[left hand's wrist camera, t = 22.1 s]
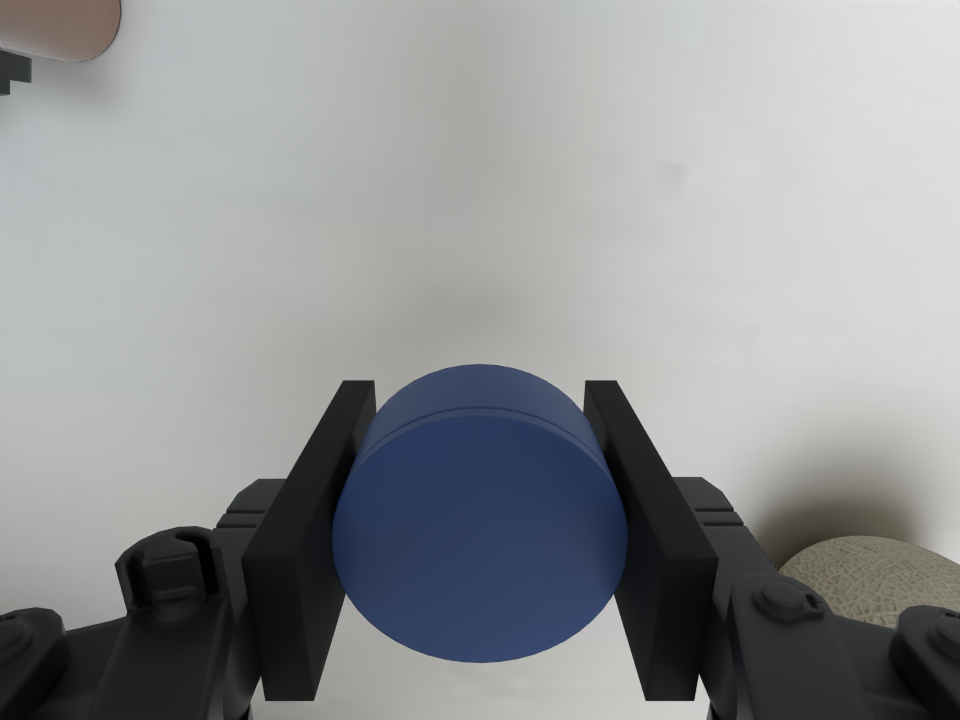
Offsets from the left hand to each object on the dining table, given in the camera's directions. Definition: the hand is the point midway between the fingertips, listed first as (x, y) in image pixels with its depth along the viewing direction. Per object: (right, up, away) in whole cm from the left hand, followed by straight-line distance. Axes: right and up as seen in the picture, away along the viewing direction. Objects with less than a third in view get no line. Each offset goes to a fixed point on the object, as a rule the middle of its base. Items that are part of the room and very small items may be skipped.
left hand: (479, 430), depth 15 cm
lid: (0, -1, -4) cm, 4 cm away
